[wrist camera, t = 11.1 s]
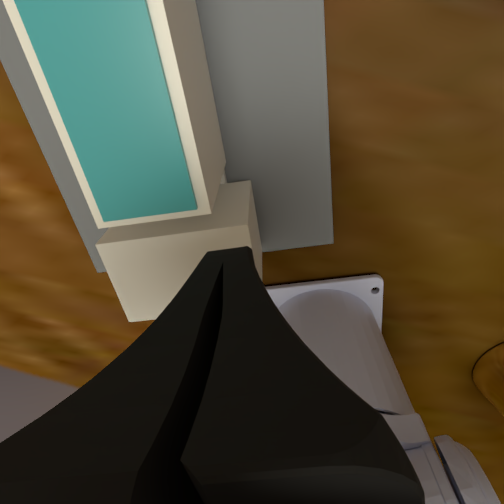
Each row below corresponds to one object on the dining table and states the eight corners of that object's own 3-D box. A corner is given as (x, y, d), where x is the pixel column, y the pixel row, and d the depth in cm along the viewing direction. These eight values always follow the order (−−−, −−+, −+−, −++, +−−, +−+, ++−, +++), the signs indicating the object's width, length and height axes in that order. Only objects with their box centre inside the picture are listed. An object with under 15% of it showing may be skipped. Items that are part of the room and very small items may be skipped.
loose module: (226, 162, 17) (210, 216, 11) (146, 173, 17) (95, 231, 12) (192, -18, 13) (147, -61, 8) (92, 1, 14) (-14, -27, 8)
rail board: (330, 234, 20) (357, 306, 15) (103, 263, 22) (50, 339, 16) (308, -248, 11) (355, -529, 6) (-77, -149, 13) (-341, -301, 7)
